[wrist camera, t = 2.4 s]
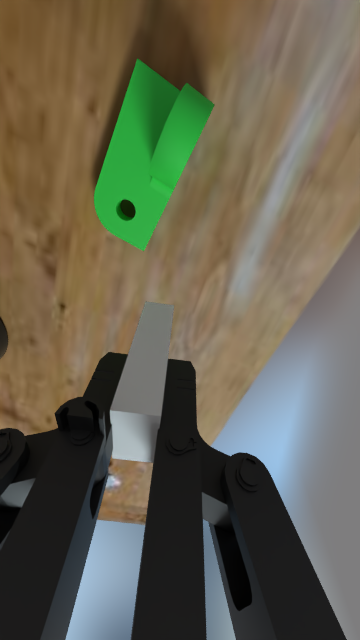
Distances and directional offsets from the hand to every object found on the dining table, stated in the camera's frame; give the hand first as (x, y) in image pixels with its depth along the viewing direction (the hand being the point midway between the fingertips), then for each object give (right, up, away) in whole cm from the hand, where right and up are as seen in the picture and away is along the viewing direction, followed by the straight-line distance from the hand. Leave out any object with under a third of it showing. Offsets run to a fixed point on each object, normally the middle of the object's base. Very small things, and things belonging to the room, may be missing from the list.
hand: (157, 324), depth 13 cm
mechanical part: (-2, +14, +9) cm, 17 cm away
